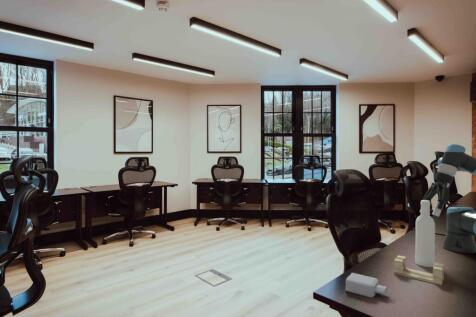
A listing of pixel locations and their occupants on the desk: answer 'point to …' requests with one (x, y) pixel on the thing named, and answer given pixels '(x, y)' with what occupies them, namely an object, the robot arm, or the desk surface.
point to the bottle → (425, 237)
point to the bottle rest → (424, 276)
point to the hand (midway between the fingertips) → (428, 214)
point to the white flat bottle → (364, 285)
